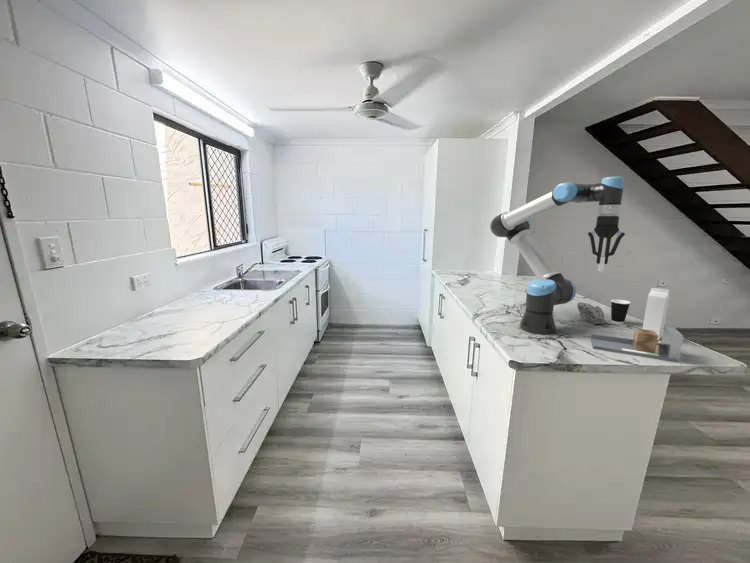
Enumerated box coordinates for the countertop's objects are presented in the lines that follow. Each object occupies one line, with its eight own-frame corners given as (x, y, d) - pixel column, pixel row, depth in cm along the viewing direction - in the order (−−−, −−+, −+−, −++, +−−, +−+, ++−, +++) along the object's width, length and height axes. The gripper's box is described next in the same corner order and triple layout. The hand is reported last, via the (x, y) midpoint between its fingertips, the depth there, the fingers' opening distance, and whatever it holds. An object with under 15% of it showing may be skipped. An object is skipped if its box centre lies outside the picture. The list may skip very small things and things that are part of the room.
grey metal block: (668, 357, 117) (672, 334, 115) (660, 348, 126) (664, 326, 124) (678, 359, 116) (683, 336, 114) (670, 349, 124) (674, 327, 122)
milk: (658, 340, 137) (667, 290, 132) (640, 336, 141) (649, 288, 137) (662, 337, 140) (671, 288, 136) (644, 333, 145) (653, 286, 140)
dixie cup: (603, 320, 164) (606, 299, 161) (618, 319, 164) (621, 299, 162) (616, 325, 156) (620, 303, 154) (631, 324, 156) (635, 303, 154)
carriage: (635, 350, 122) (638, 333, 121) (632, 344, 128) (634, 328, 127) (657, 354, 119) (661, 336, 118) (653, 347, 125) (656, 331, 124)
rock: (572, 314, 171) (575, 298, 168) (588, 314, 171) (592, 297, 167) (588, 329, 157) (592, 311, 153) (606, 329, 156) (610, 311, 152)
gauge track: (592, 348, 128) (593, 341, 128) (590, 340, 137) (591, 333, 136) (678, 362, 116) (679, 354, 115) (669, 352, 124) (671, 344, 124)
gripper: (590, 215, 132) (583, 271, 137) (629, 215, 126) (620, 273, 130) (588, 215, 138) (582, 269, 143) (626, 215, 132) (617, 271, 137)
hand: (600, 271), depth 137 cm, fingers closed
